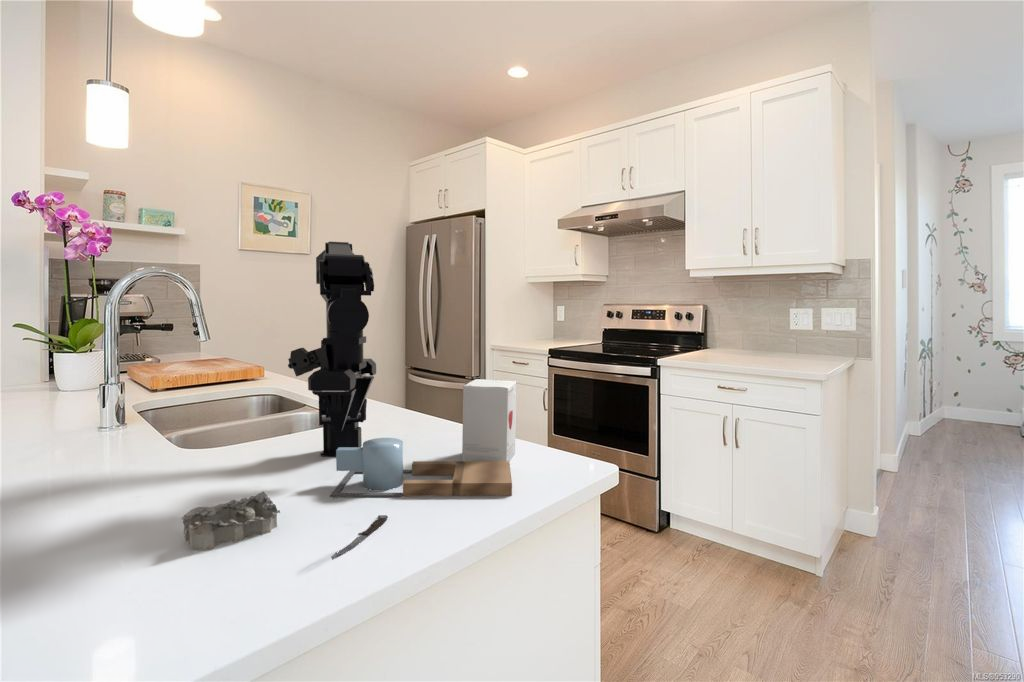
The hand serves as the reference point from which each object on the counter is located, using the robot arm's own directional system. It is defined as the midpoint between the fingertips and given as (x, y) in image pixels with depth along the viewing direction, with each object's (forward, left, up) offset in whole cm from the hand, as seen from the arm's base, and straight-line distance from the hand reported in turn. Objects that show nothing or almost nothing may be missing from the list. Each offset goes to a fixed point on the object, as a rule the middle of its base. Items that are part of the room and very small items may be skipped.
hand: (346, 424), depth 86 cm
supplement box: (+24, +14, -10) cm, 30 cm away
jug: (+4, 0, -10) cm, 11 cm away
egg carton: (-10, -18, -11) cm, 23 cm away
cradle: (+19, 0, -10) cm, 21 cm away
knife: (+6, -21, -11) cm, 25 cm away
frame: (+5, 0, -10) cm, 11 cm away
